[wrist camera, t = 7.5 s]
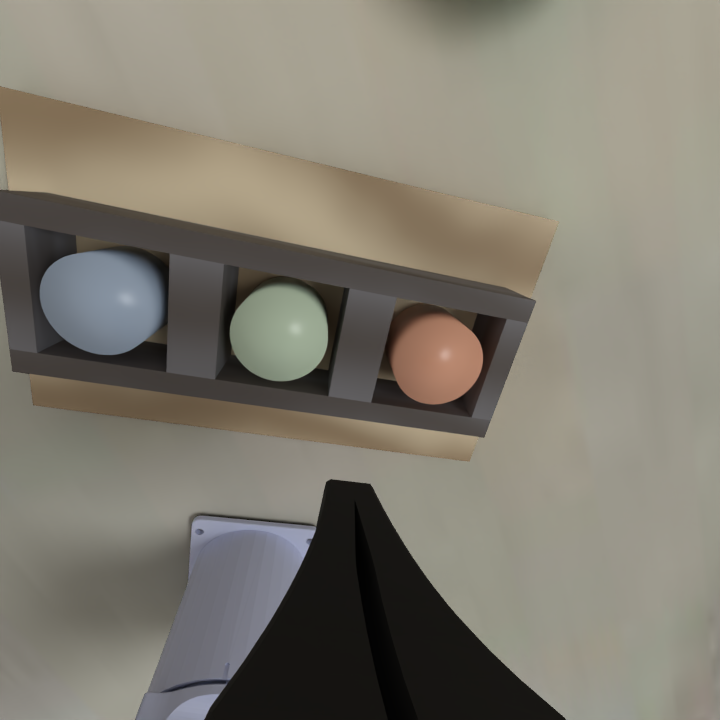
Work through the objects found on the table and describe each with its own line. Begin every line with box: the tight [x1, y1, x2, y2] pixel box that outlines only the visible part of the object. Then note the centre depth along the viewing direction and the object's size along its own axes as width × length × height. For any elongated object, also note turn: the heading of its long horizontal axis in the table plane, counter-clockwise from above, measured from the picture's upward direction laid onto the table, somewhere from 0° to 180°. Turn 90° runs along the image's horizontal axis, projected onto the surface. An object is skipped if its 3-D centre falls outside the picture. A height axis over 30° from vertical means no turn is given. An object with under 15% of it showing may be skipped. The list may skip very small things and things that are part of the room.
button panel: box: [0, 87, 559, 461], centre depth 18 cm, size 14×24×4 cm, turn 78°
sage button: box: [230, 277, 328, 381], centre depth 17 cm, size 4×4×3 cm
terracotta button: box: [385, 304, 483, 404], centre depth 18 cm, size 4×4×3 cm
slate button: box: [40, 246, 169, 355], centre depth 16 cm, size 4×4×3 cm
